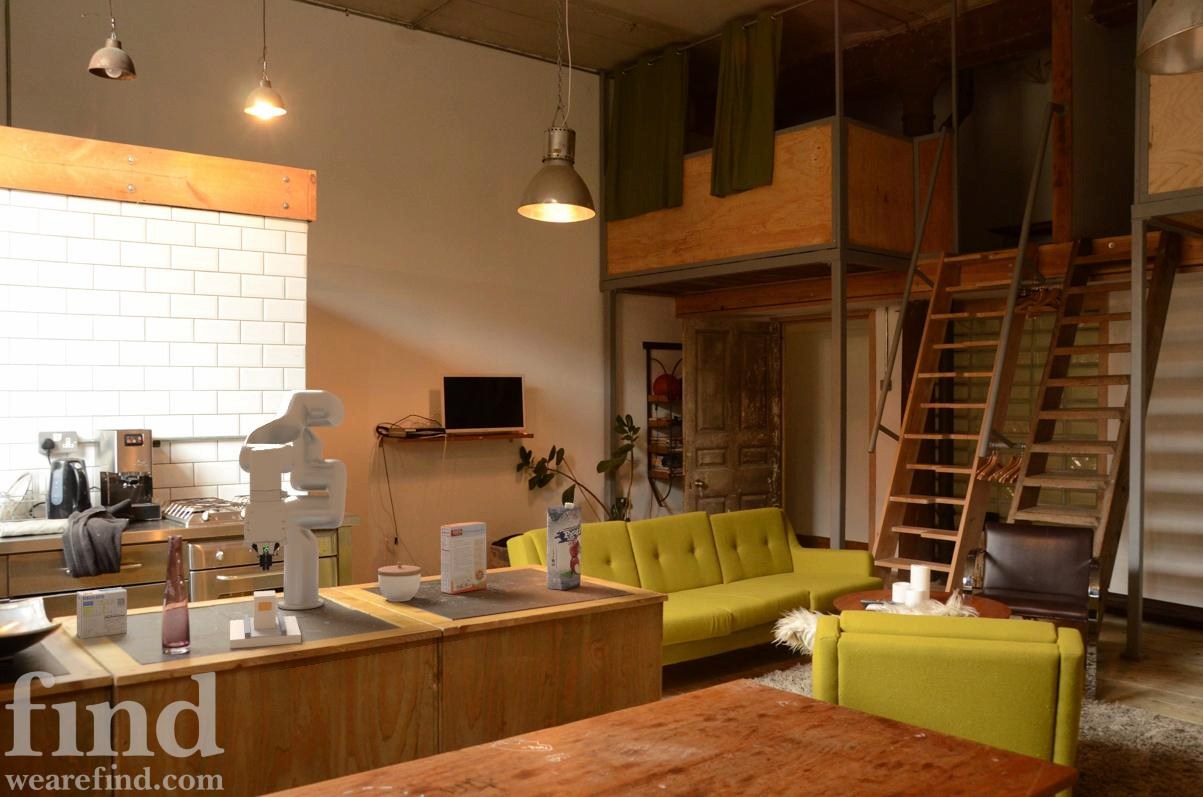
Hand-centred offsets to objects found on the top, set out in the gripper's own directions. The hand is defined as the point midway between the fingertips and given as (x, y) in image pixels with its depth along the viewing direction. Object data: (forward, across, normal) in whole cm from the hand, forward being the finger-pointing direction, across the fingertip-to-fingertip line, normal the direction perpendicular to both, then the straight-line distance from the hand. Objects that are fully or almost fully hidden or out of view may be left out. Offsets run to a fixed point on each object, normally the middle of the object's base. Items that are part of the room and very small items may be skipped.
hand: (265, 569), depth 239 cm
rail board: (+16, 0, +1) cm, 16 cm away
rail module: (+14, 0, +1) cm, 14 cm away
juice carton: (+19, -91, -34) cm, 98 cm away
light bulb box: (+17, +38, -15) cm, 44 cm away
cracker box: (+19, -60, -40) cm, 74 cm away
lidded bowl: (+18, -39, -33) cm, 54 cm away
